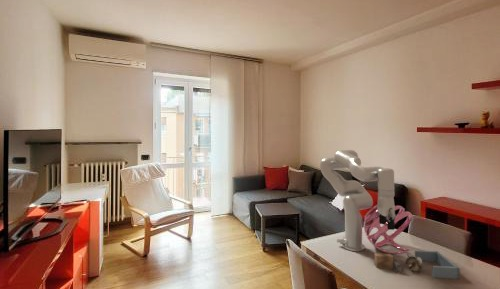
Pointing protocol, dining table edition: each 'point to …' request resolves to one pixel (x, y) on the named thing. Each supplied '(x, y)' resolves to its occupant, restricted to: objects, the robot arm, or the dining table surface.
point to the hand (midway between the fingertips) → (386, 226)
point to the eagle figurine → (414, 264)
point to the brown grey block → (386, 262)
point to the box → (446, 266)
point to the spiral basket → (384, 229)
